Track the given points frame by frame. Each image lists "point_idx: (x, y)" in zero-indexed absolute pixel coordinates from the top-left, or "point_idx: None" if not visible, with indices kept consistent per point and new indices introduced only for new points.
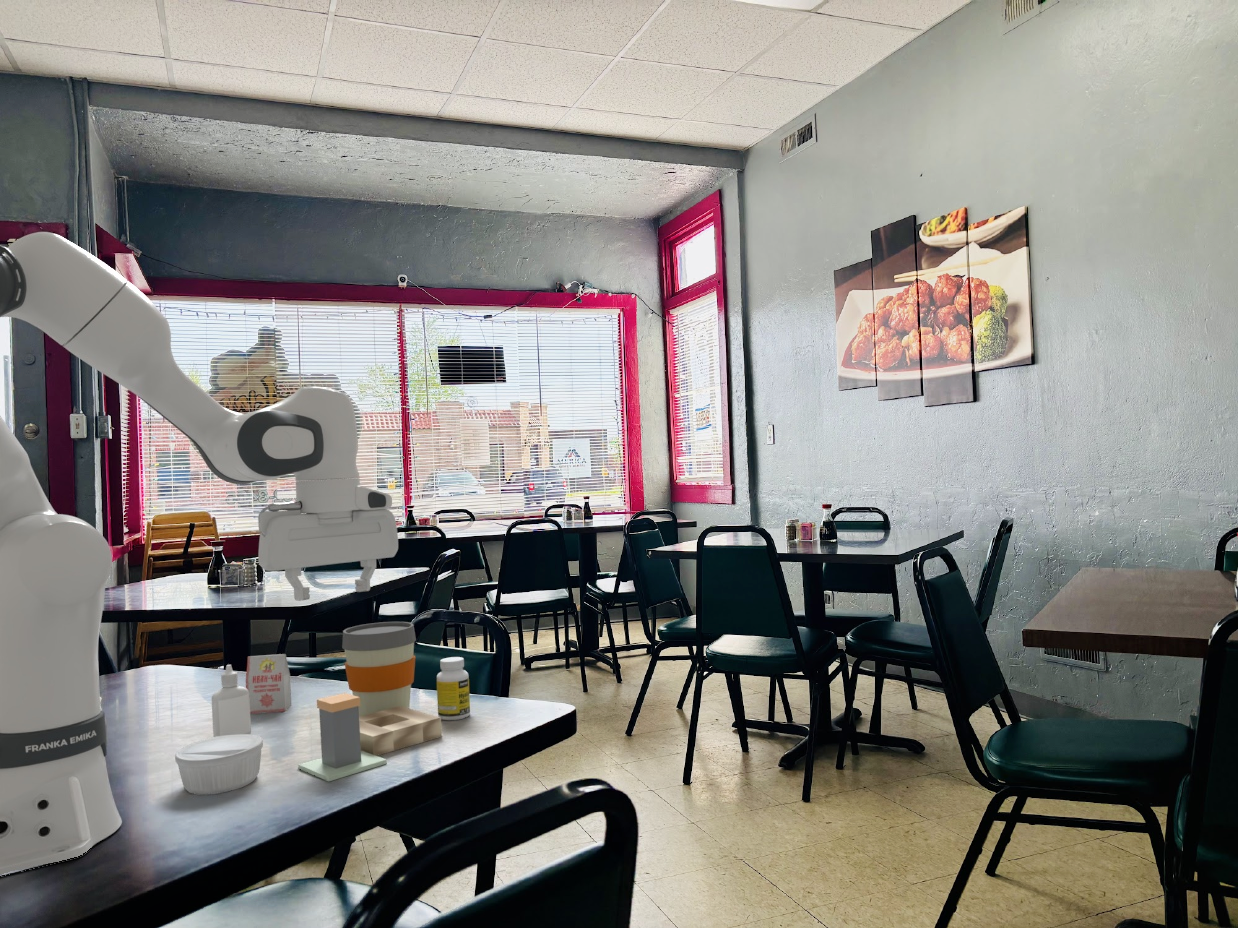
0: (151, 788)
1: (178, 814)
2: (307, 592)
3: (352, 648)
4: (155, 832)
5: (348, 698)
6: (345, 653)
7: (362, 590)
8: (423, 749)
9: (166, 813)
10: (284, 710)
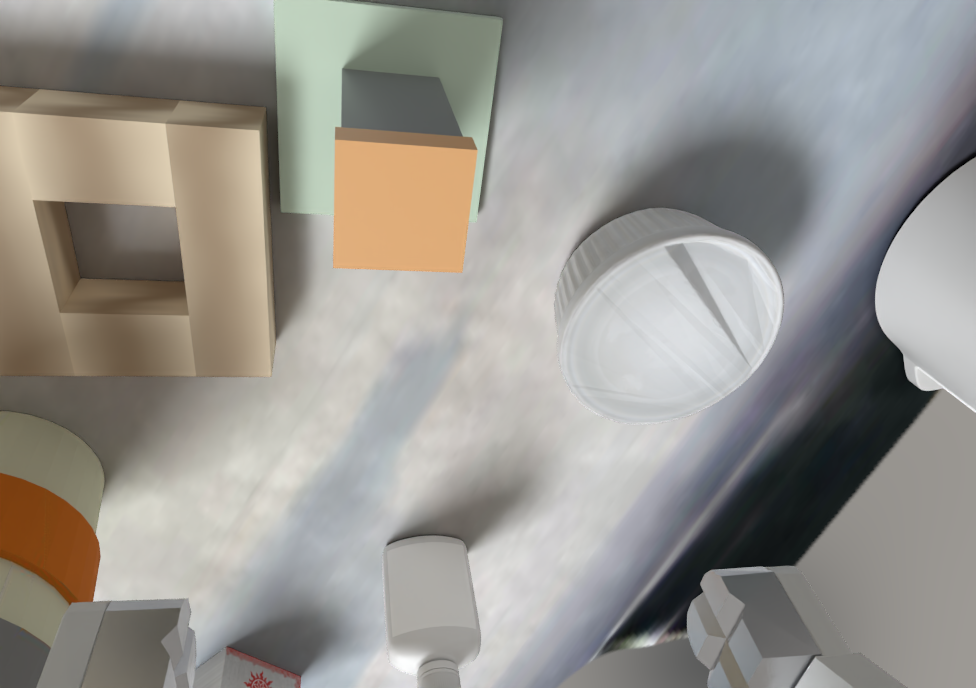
0: None
1: (831, 159)
2: (759, 612)
3: None
4: (935, 87)
5: (379, 168)
6: None
7: (168, 599)
8: (83, 5)
9: (832, 192)
10: (228, 648)
